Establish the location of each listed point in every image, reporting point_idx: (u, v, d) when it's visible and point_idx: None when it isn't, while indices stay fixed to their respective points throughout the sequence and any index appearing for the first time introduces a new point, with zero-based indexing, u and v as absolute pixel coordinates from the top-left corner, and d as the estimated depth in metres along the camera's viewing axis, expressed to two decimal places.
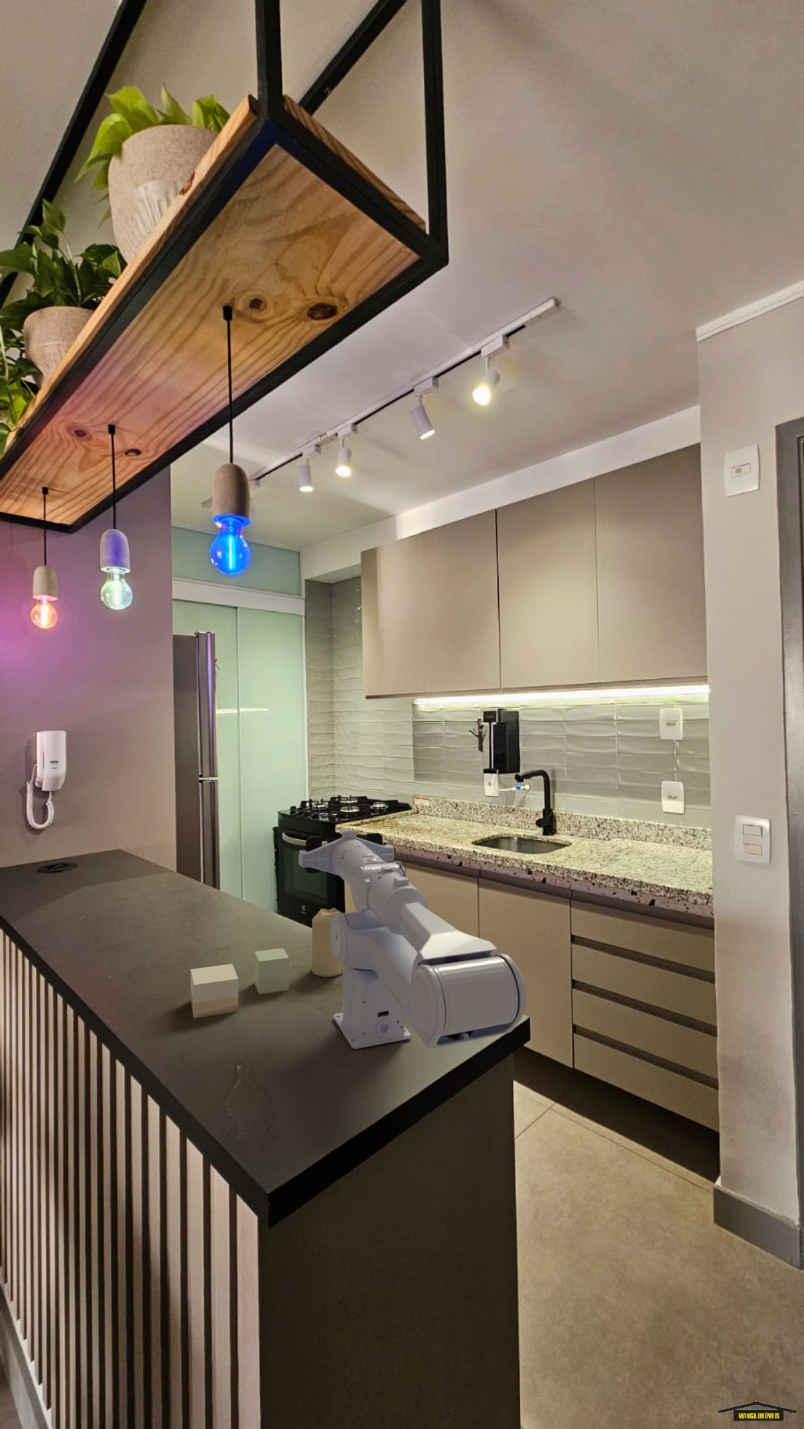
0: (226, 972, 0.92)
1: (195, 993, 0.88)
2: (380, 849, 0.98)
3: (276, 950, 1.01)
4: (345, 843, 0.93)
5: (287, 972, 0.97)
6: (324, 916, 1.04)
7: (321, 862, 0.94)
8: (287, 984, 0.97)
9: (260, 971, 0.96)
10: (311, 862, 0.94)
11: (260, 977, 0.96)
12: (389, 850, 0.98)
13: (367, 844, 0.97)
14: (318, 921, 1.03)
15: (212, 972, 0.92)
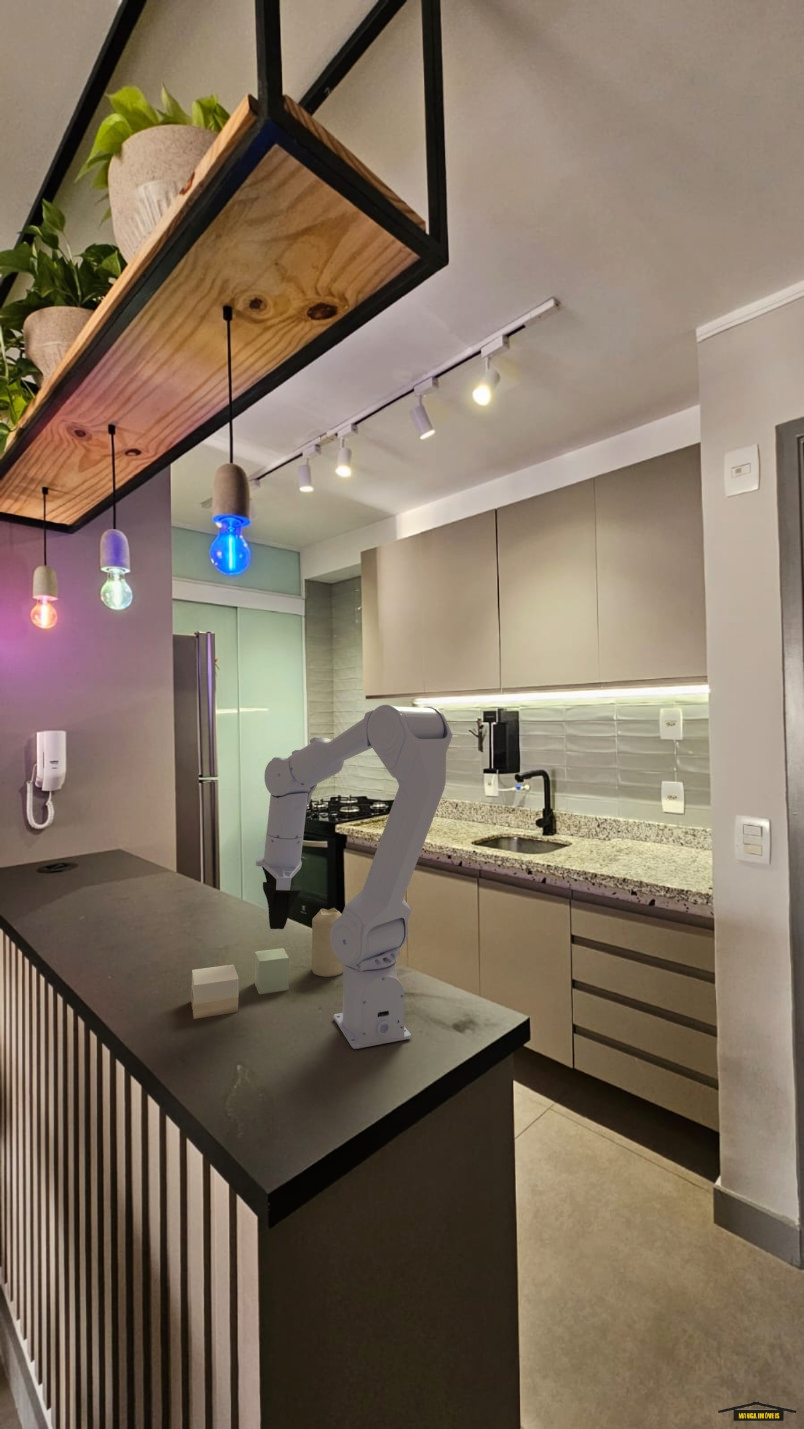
0: (227, 972, 0.93)
1: (196, 993, 0.88)
2: None
3: (276, 950, 1.01)
4: (266, 852, 0.97)
5: (287, 972, 0.97)
6: (324, 916, 1.04)
7: None
8: (287, 984, 0.97)
9: (260, 971, 0.96)
10: (287, 877, 0.94)
11: (260, 977, 0.96)
12: None
13: None
14: (318, 921, 1.03)
15: (213, 972, 0.93)
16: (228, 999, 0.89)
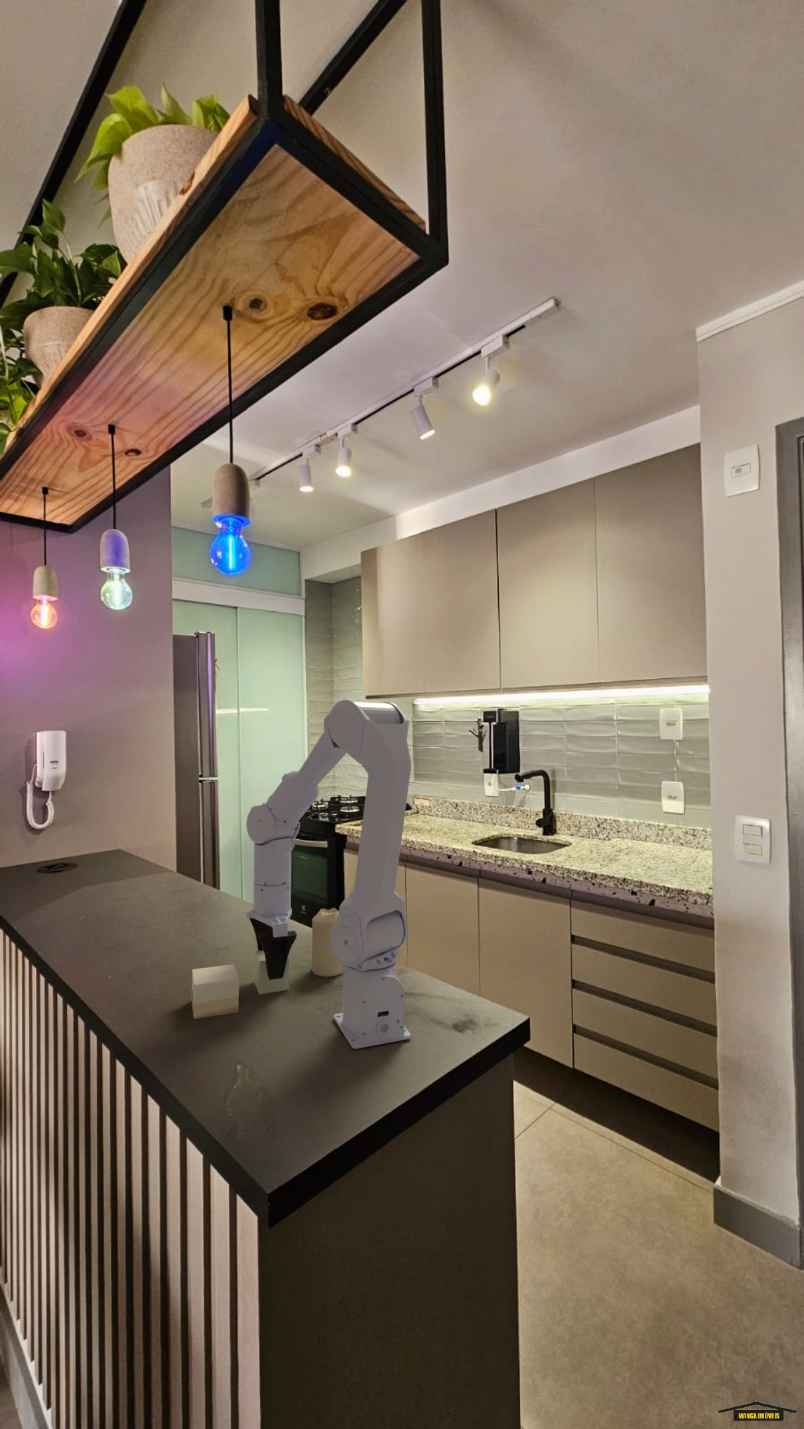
0: (227, 972, 0.92)
1: (196, 993, 0.88)
2: None
3: None
4: (256, 903, 0.97)
5: (287, 972, 0.97)
6: (324, 916, 1.04)
7: None
8: (287, 984, 0.97)
9: (260, 971, 0.96)
10: (282, 923, 0.94)
11: (260, 977, 0.96)
12: None
13: None
14: (318, 921, 1.03)
15: (213, 972, 0.92)
16: (228, 998, 0.89)
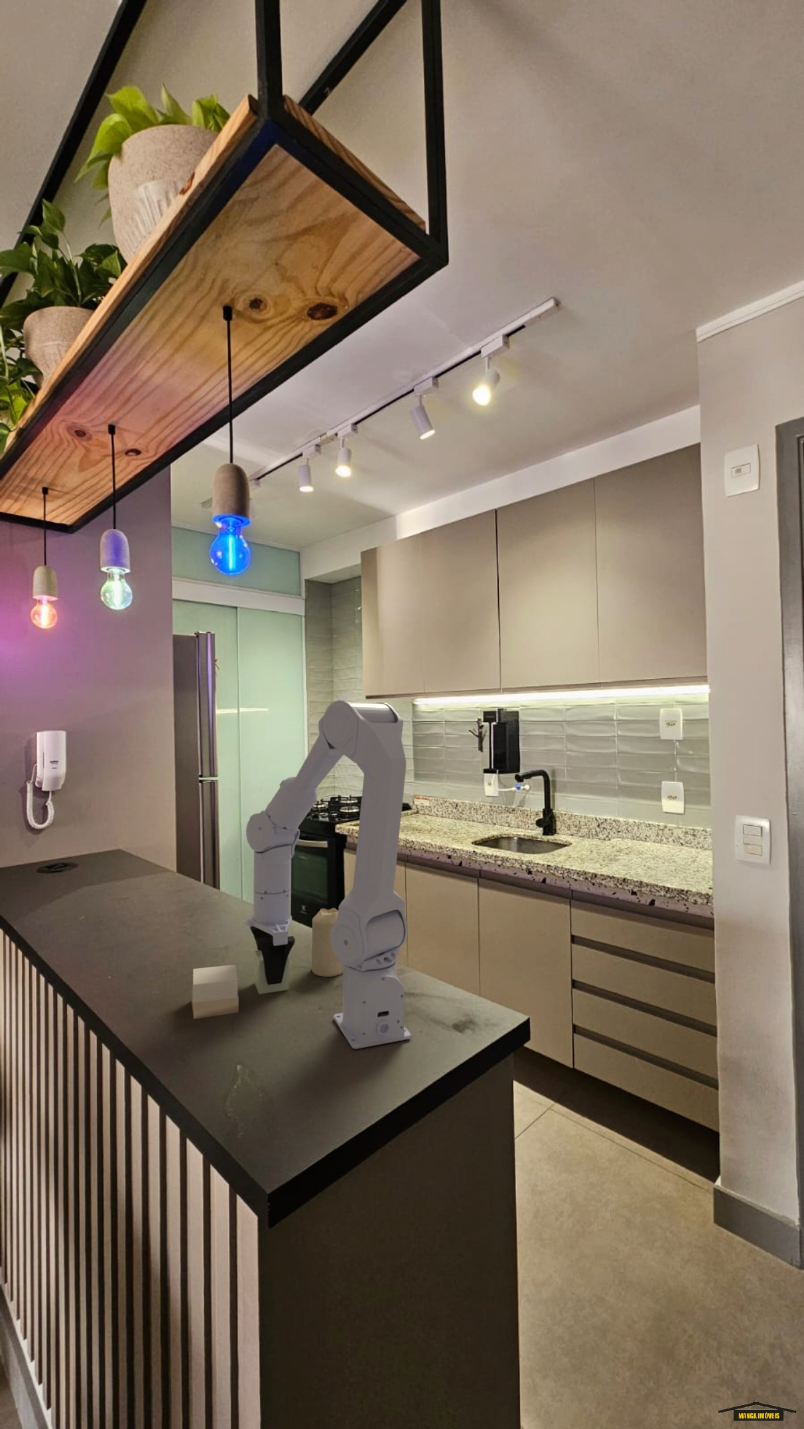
0: (227, 973, 0.92)
1: (194, 993, 0.88)
2: None
3: None
4: (256, 911, 0.97)
5: (287, 971, 0.97)
6: (324, 916, 1.04)
7: None
8: (287, 983, 0.97)
9: (260, 970, 0.96)
10: None
11: (260, 976, 0.96)
12: None
13: None
14: (318, 921, 1.03)
15: (214, 972, 0.92)
16: None
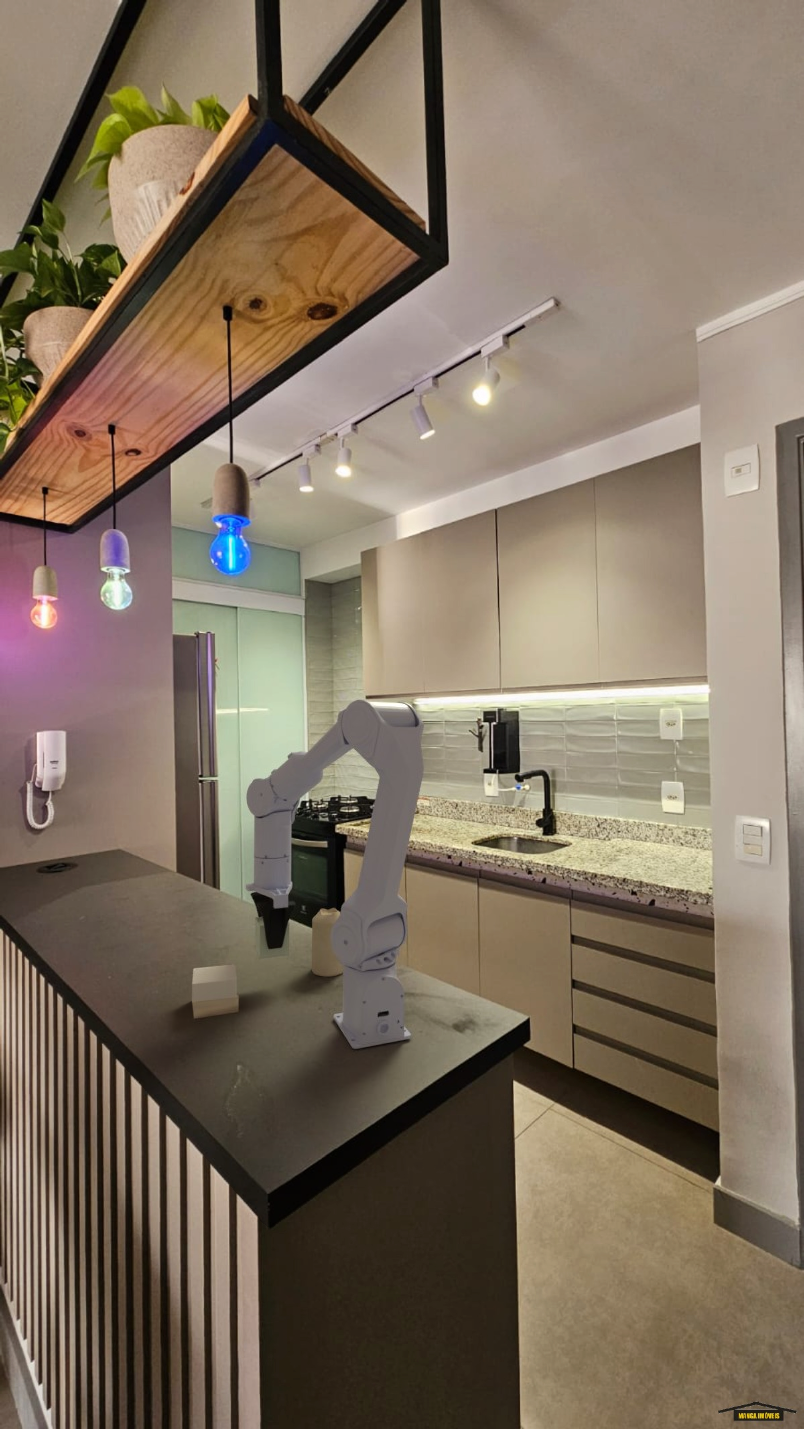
0: (227, 972, 0.92)
1: (193, 992, 0.88)
2: None
3: None
4: (256, 876, 0.97)
5: (287, 937, 0.97)
6: (324, 916, 1.04)
7: (281, 892, 0.95)
8: (287, 949, 0.97)
9: (260, 935, 0.96)
10: None
11: (260, 941, 0.96)
12: None
13: None
14: (318, 921, 1.03)
15: (213, 972, 0.92)
16: (228, 998, 0.89)
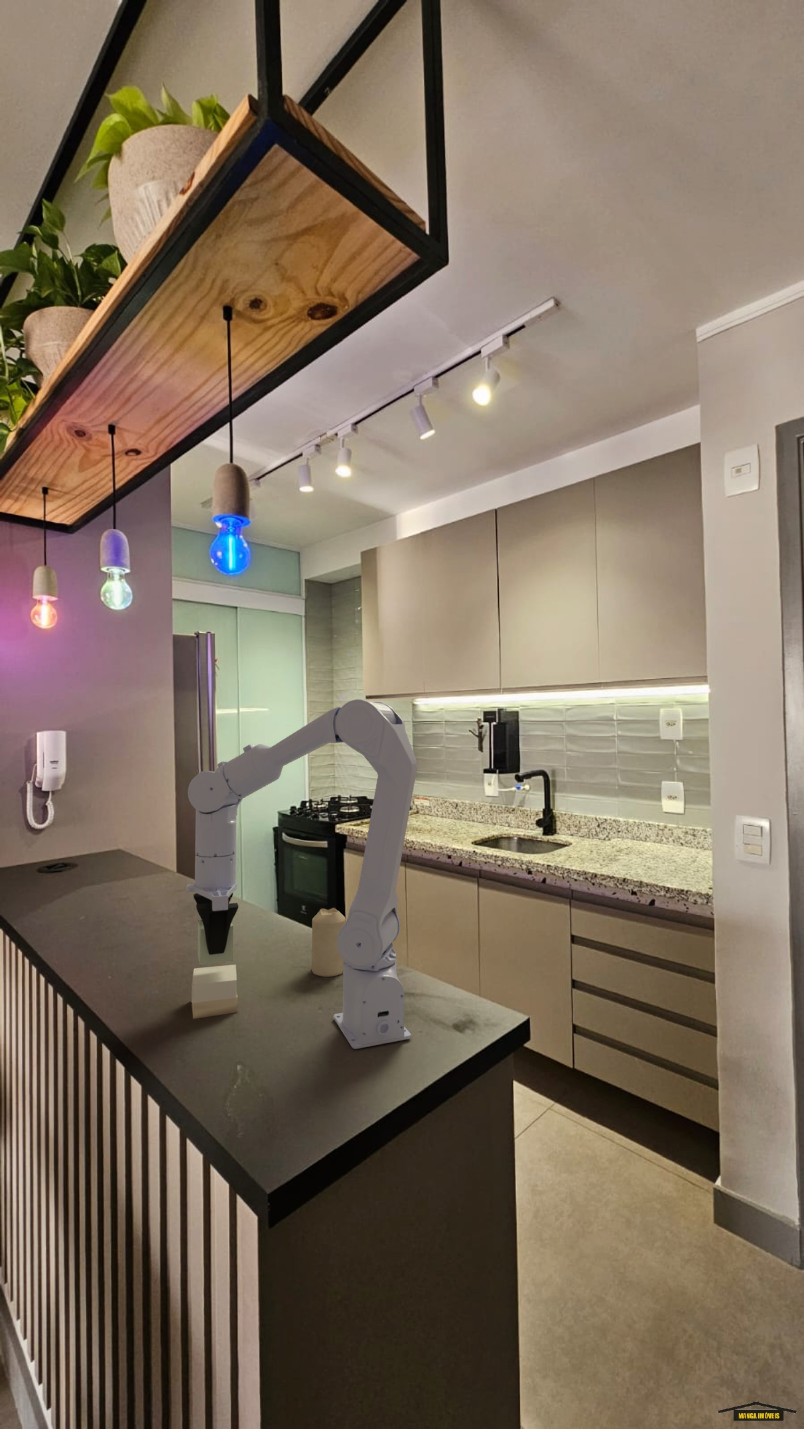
0: (227, 972, 0.92)
1: (193, 993, 0.88)
2: None
3: None
4: (197, 875, 0.90)
5: (231, 941, 0.90)
6: (324, 916, 1.04)
7: None
8: (231, 954, 0.90)
9: (201, 940, 0.89)
10: None
11: (201, 946, 0.89)
12: None
13: None
14: (318, 921, 1.03)
15: (214, 972, 0.92)
16: None
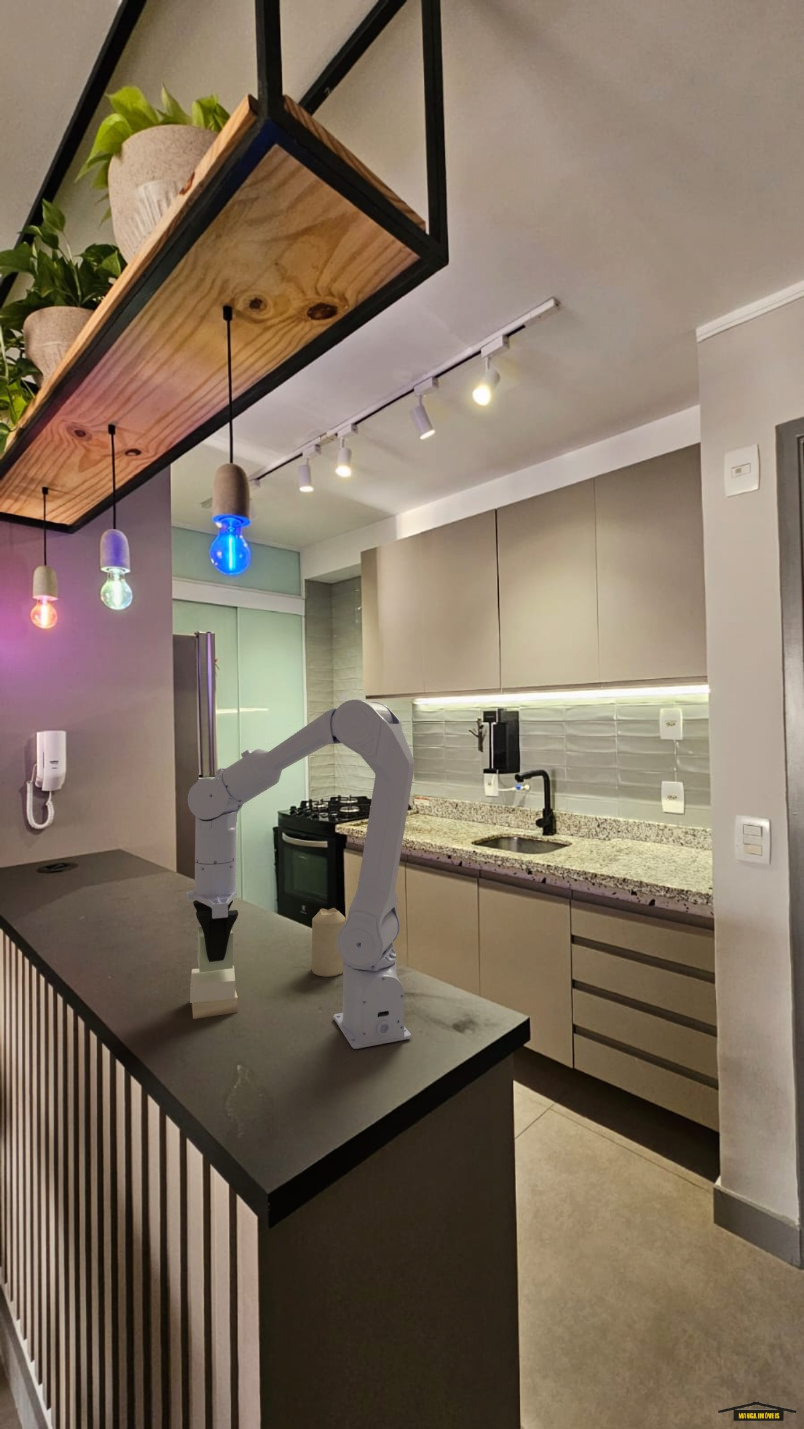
0: (225, 973, 0.92)
1: (191, 993, 0.88)
2: None
3: None
4: (197, 882, 0.90)
5: (231, 949, 0.90)
6: (324, 916, 1.04)
7: None
8: (231, 962, 0.90)
9: (201, 947, 0.89)
10: None
11: (201, 954, 0.89)
12: None
13: None
14: (318, 921, 1.03)
15: (212, 973, 0.92)
16: (228, 999, 0.89)
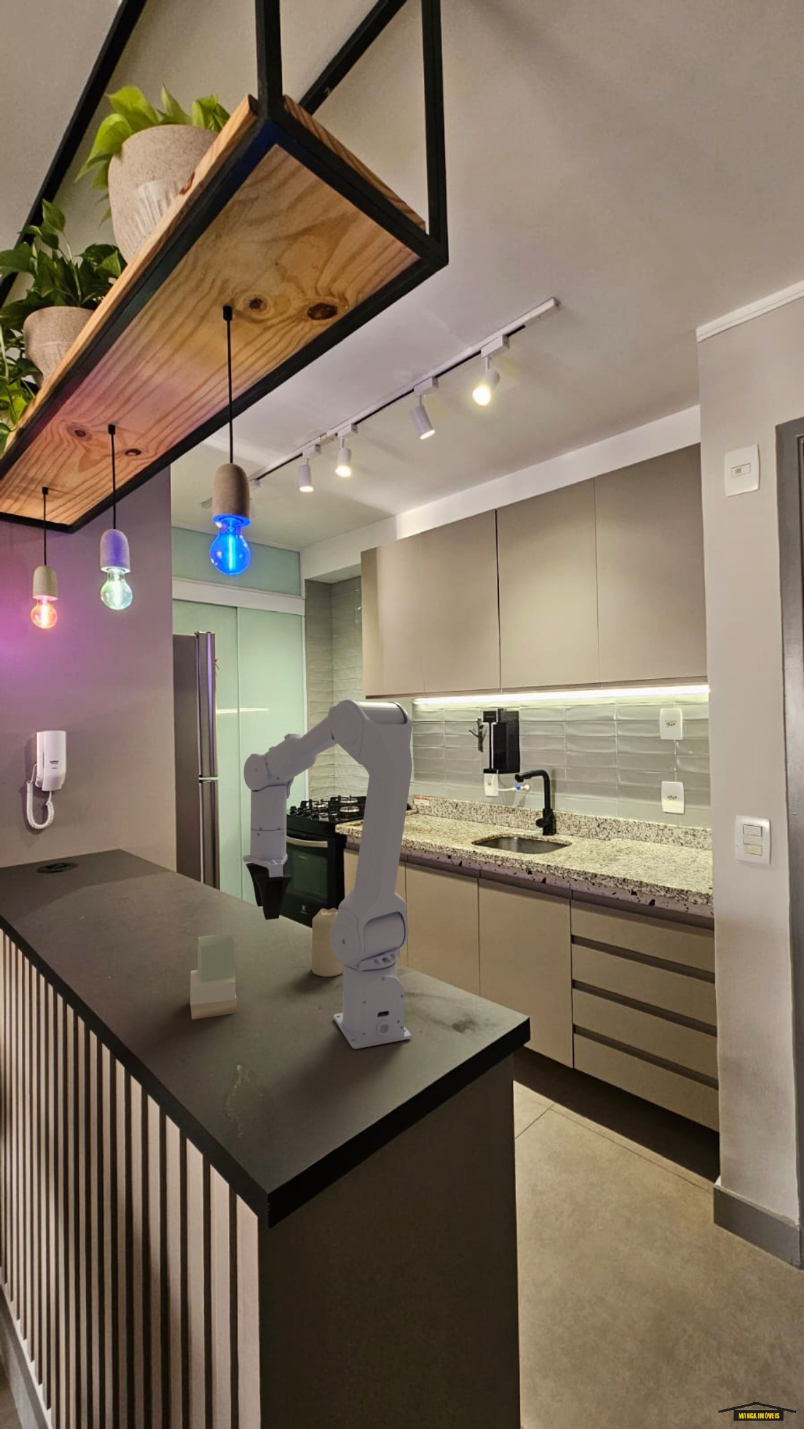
0: None
1: (191, 995, 0.87)
2: None
3: (221, 935, 0.93)
4: (253, 847, 1.01)
5: (232, 958, 0.90)
6: (324, 916, 1.04)
7: (276, 863, 0.99)
8: (232, 971, 0.90)
9: (202, 957, 0.89)
10: None
11: (202, 963, 0.89)
12: None
13: None
14: (318, 921, 1.03)
15: None
16: None
